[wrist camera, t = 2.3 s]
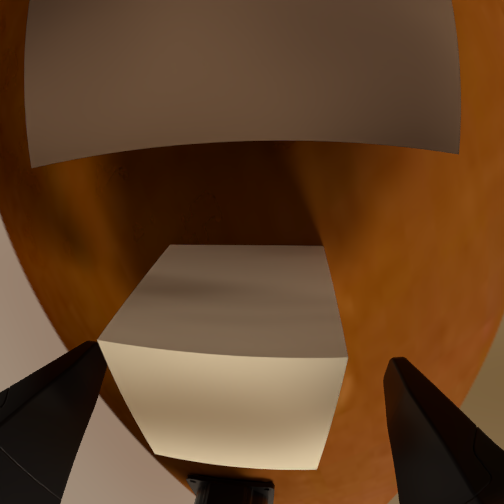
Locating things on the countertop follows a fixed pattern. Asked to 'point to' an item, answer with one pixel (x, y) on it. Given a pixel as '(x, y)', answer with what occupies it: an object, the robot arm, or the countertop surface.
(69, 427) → the robot arm
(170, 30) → the base
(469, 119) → the countertop surface
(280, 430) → the block
